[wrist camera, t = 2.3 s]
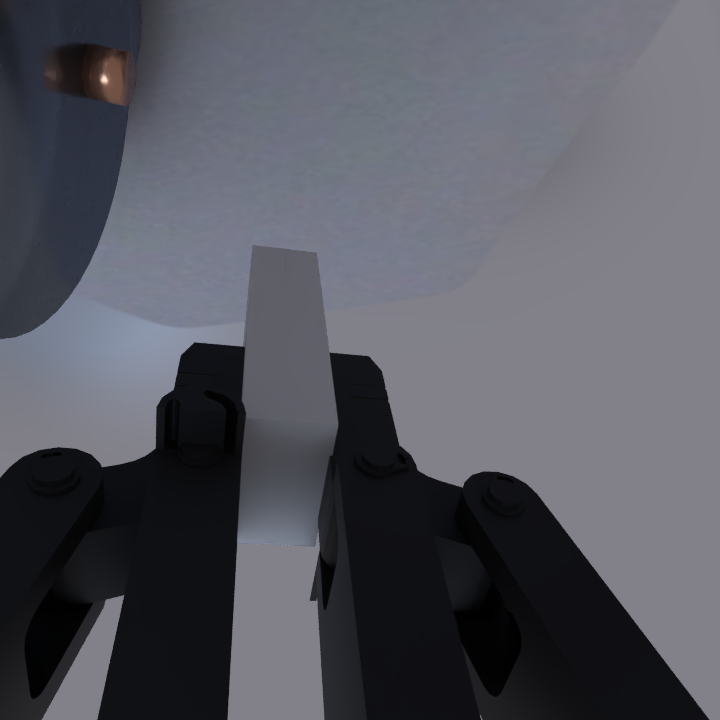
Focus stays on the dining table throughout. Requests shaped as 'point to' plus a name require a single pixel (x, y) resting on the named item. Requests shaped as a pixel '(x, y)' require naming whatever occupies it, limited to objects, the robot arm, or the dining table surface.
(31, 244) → the pot lid
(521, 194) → the dining table surface
